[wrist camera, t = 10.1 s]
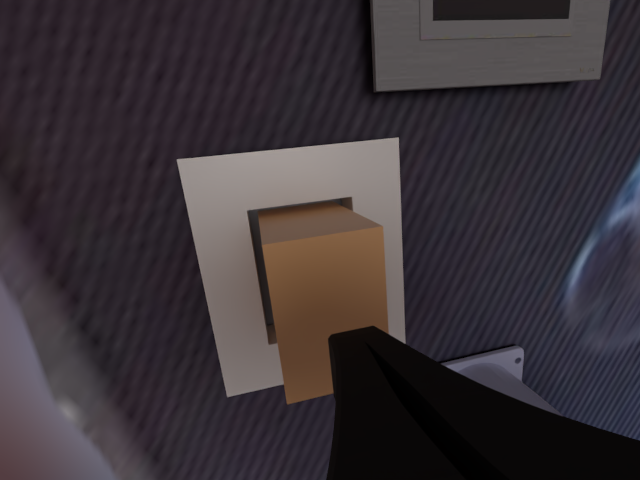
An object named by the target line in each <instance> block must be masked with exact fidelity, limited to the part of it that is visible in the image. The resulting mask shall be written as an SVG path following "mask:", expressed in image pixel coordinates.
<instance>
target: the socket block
mask: <svg viewBox="0 0 640 480" xmlns="http://www.w3.org/2000/svg"><path fill="white" fill-rule="evenodd" d="M177 163H178V168H179V172H180V177H181V182H182V186H183V191H184V196H185V201H186V205H187V210H188V215H189V219H190V224H191V229H192V233H193V238H194V243H195V248H196V252H197V257H198V262H199V266H200V271H201V276H202V281H203V285H204V290H205V295H206V299H207V304H208V309H209V313H210V318H211V323H212V328H213V332H214V337H215V342H216V346H217V351H218V356H219V361H220V365H221V370H222V375H223V379H224V384H225V389H226V393H227V397H230V396H234V395H239V394H243V393H248V392H252V391H256V390H261V389H265V388H269V387H274V386H278V385H282V384H284V381H283V375H282V369H281V362H280V356H279V350H278V343H277V337H276V331H275V324H274V318H273V312H272V306H271V299H270V293H269V287H268V280H267V274H266V268H265V261H264V255H263V249H262V242H261V234H260V226H259V218H258V211H261V210H268V209H276V208H283V207H290V206H298V205H305V204H313V203H320V202H327V201H333V202H335V203H337V204H339V205H341V206H343V207H345V208H347V209H349V210H351V211H353V212H355V213H357V214H359V215H361V216H363V217H365V218H367V219H369V220H372V221H374V222H376V223H378V224H380V225H382V226H383V233H384V252H385V271H386V290H387V310H388V329H389V335H391V336H393V337H394V338H396V339H398V340H399V341H401V342H403V343H404V344H405V315H404V284H403V254H402V224H401V194H400V164H399V138H389V139H379V140H369V141H359V142H349V143H339V144H329V145H319V146H309V147H299V148H289V149H279V150H269V151H258V152H248V153H238V154H228V155H218V156H208V157H198V158H188V159H178V160H177Z"/></svg>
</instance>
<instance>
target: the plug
mask: <svg viewBox="0 0 640 480" xmlns="http://www.w3.org/2000/svg"><path fill="white" fill-rule="evenodd" d="M258 218H259V226H260V234H261V242H262V249H263V255H264V261H265V268H266V274H267V280H268V287H269V293H270V299H271V306H272V312H273V318H274V324H275V331H276V337H277V343H278V350H279V356H280V362H281V369H282V375H283V381H284V388H285V394H286V400H287V404H291V403H295V402H299V401H303V400H307V399H312V398H316V397H320V396H324V395H328V394H332V393H334V392H333V383H332V374H331V364H330V355H329V345H328V338H329V337H330V335H331V334H335V333H340V332H344V331H349V330H354V329H359V328H364V327H369V326H375V327H377V328H379V329H381V330H382V331H384V332H386V333H388V334H389V329H388V310H387V290H386V271H385V252H384V233H383V226H382V225H380V224H378V223H376V222H374V221H372V220H369V219H367V218H365V217H363V216H361V215H359V214H357V213H355V212H353V211H351V210H349V209H347V208H345V207H343V206H341V205H339V204H337V203H335V202H333V201H327V202H320V203H313V204H305V205H298V206H290V207H283V208H276V209H268V210H261V211H258Z"/></svg>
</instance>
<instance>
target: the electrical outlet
mask: <svg viewBox="0 0 640 480" xmlns="http://www.w3.org/2000/svg"><path fill="white" fill-rule="evenodd" d="M609 6H610V0H370V9H371V35H372V61H373V87H374V92H391V91H409V90H427V89H446V88H464V87H482V86H500V85H519V84H537V83H555V82H573V81H592V80H598V79H600V74H601V66H602V59H603V51H604V44H605V36H606V28H607V21H608V13H609Z"/></svg>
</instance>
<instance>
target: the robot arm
mask: <svg viewBox="0 0 640 480" xmlns="http://www.w3.org/2000/svg"><path fill="white" fill-rule="evenodd" d="M328 345H329V355H330V364H331V374H332V383H333V392H334V397H335V401H336V407H335V422H334V432H333V441H332V448H331V456H330V462H329V468H328V474H327V480H640V441H639V440H635V439H632V438H629V437H625V436H622V435H619V434H615V433H612V432H609V431H606V430H602V429H599V428H596V427H593V426H590V425H587V424H584V423H581V422H578V421H575V420H572V419H569V418H566V417H564V416H563V415H562V414H561V413H559V412H558V411H557V410H556V409H554V408H553V407H552V406H551V405H550V404H548V403H547V402H546V401H545V400H543V399H542V398H541V397H540V396H539V395H537V394H536V393H535V392H534V391H532V390H531V389H530V388H529V387H528V386H526V385H525V384H524V383H523V382H522V371H523V358H524V350H523V349H522V348H521V347H519V346H512V347H508V348H503V349H499V350H495V351H491V352H487V353H483V354H478V355H474V356H470V357H466V358H462V359H457V360H453V361H449V362H445V363H441V364H440V363H438V362H436V361H434V360H433V359H431V358H429V357H427V356H425V355H424V354H422V353H420V352H418V351H416V350H415V349H413V348H411V347H410V346H408V345H406V344H404V343H403V342H401V341H399V340H398V339H396V338H394V337H393V336H391V335H389V334H388V333H386V332H384V331H382V330H381V329H379V328H377V327H375V326H369V327H364V328H359V329H354V330H349V331H344V332H340V333H335V334H331V335H330V337H329V338H328Z"/></svg>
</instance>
